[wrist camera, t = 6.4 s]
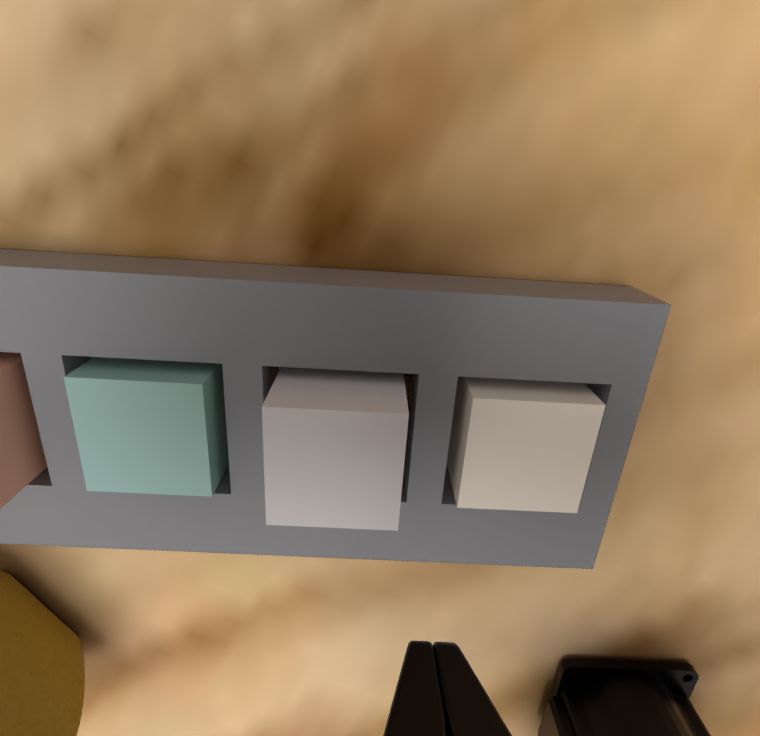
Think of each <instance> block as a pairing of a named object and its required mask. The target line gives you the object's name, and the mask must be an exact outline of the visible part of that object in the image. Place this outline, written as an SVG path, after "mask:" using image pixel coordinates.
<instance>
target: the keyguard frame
mask: <svg viewBox="0 0 760 736" xmlns="http://www.w3.org/2000/svg"><path fill="white" fill-rule="evenodd" d="M670 306H671V305H670V304H668V303H665V302H663V301H661V300H659V299H657V298H655V297H652V296H650V295H648V294H646V293H644V292H642V291H639V290H637V289H635V288H633V287H631V286H623V285H606V284H589V283H572V282H555V281H538V280H521V279H504V278H487V277H471V276H454V275H437V274H420V273H403V272H386V271H369V270H352V269H335V268H318V267H301V266H285V265H268V264H251V263H234V262H217V261H200V260H183V259H166V258H149V257H132V256H115V255H99V254H82V253H65V252H48V251H31V250H14V249H0V352H12V353H21V357H22V361H23V365H24V369H25V373H26V378H27V382H28V386H29V390H30V395H31V399H32V403H33V407H34V411H35V416H36V420H37V424H38V428H39V433H40V437H41V441H42V445H43V449H44V454H45V458H46V462H47V466H48V467H47V468H45V469H44V470H43V471H42V472H41V473H40V474H39V475H38V476H37V477H35V478H34V479H33V480H32V481H31V482H30V483H29V484H28V485H27V486H25V487H24V488H23V489H22V490H21V491H20V492H19V493H18V494H17V495H15V496H14V497H13V498H12V499H11V500H10V501H9V502H8V503H7V504H5V505H4V506H3V507H2V508H1V509H0V544H21V545H44V546H67V547H91V548H114V549H138V550H161V551H184V552H208V553H231V554H254V555H278V556H301V557H325V558H348V559H371V560H395V561H418V562H442V563H465V564H488V565H512V566H535V567H558V568H582V569H593V567H594V563H595V560H596V557H597V553H598V550H599V546H600V543H601V540H602V536H603V533H604V530H605V526H606V523H607V519H608V516H609V513H610V509H611V506H612V502H613V499H614V496H615V492H616V489H617V486H618V482H619V479H620V475H621V472H622V469H623V465H624V462H625V458H626V455H627V452H628V448H629V445H630V442H631V438H632V435H633V431H634V428H635V425H636V421H637V418H638V415H639V411H640V408H641V404H642V401H643V398H644V394H645V391H646V387H647V384H648V381H649V377H650V374H651V371H652V367H653V364H654V360H655V357H656V354H657V350H658V347H659V343H660V340H661V337H662V333H663V330H664V327H665V323H666V320H667V316H668V313H669V310H670ZM93 357H105V358H124V359H143V360H161V361H180V362H199V363H218V364H222V369H223V383H224V398H225V412H226V427H227V441H228V456H229V464H228V466H227V468H226V470H225V472H224V474H223V476H222V478H221V480H220V482H219V484H218V486H217V488H216V490H215V492H214V494H213V496H212V497H208V496H186V495H164V494H142V493H121V492H99V491H87V489H86V484H85V479H84V474H83V469H82V464H81V459H80V455H79V450H78V445H77V440H76V435H75V430H74V425H73V420H72V416H71V411H70V406H69V401H68V396H67V391H66V386H65V381H64V377H65V376H66V375H68V374H69V373H71V372H72V371H74V370H75V369H77V368H78V367H80V366H81V365H83V364H84V363H86V362H87V361H89V360H90V359H92V358H93ZM278 367H292V368H311V369H330V370H349V371H367V372H386V373H405V374H411V380H410V391H409V402H408V411H409V418H408V429H407V440H406V450H405V461H404V472H403V483H402V493H401V504H400V515H399V526H398V531H392V530H370V529H347V528H325V527H302V526H280V525H266V510H265V482H264V455H263V428H262V405H263V403H264V401H265V399H266V397H267V395H268V393H269V391H270V389H271V387H272V385H273V383H274V381H275V378H276V376H277V374H278ZM458 376H461V377H480V378H498V379H517V380H536V381H555V382H573V383H585V384H586V385H587V387H588V388H589V389H590V390H591V391H592V392H593V393H594V394H595V395H596V396H597V397H598V398H599V399H600V400H601V401H602V402H603V403H604V404H605V405H606V406H605V410H604V413H603V417H602V421H601V425H600V429H599V432H598V436H597V440H596V444H595V447H594V451H593V455H592V459H591V463H590V466H589V470H588V474H587V478H586V482H585V485H584V489H583V493H582V497H581V500H580V504H579V508H578V512H577V513H561V512H540V511H518V510H496V509H474V508H457V505H456V501H455V496H454V492H453V488H452V484H451V480H450V475H449V471H448V467H447V457H448V449H449V441H450V434H451V426H452V419H453V411H454V404H455V396H456V388H457V381H458Z"/></svg>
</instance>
